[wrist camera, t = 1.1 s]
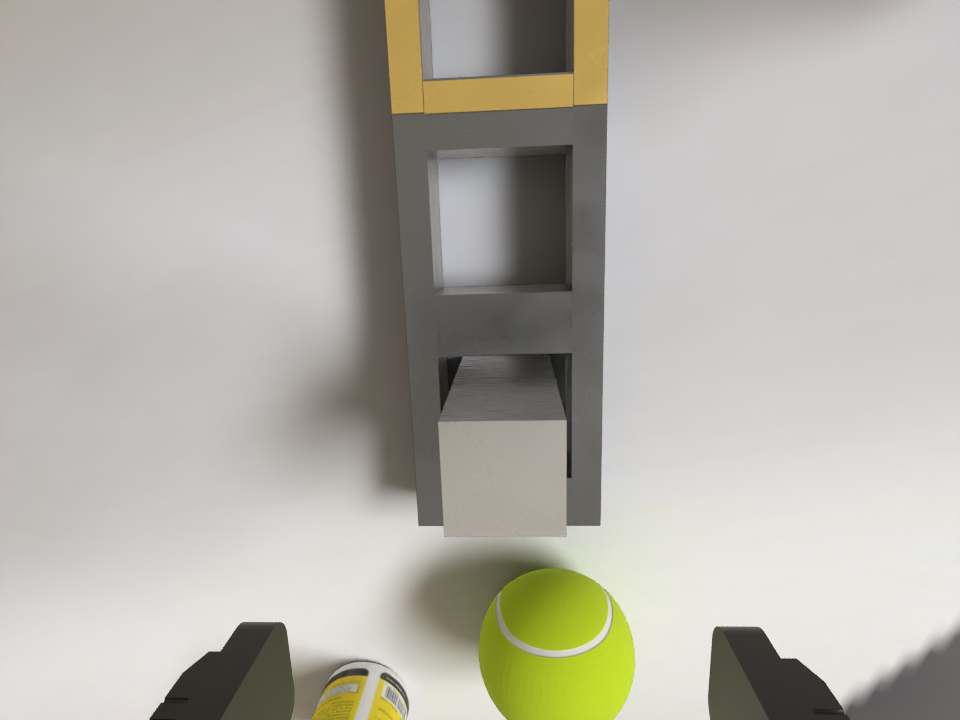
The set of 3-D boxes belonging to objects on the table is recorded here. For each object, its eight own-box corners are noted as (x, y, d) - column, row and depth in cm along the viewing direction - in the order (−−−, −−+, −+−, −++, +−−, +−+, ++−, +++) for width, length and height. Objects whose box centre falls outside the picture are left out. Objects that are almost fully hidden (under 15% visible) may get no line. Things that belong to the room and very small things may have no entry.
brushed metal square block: (549, 354, 26) (566, 420, 18) (549, 436, 27) (566, 536, 19) (462, 356, 27) (437, 421, 18) (466, 436, 28) (444, 536, 19)
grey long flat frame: (598, -132, 22) (612, -189, 19) (591, 493, 28) (600, 527, 25) (391, -117, 22) (372, -169, 19) (428, 494, 28) (418, 527, 25)
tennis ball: (478, 541, 29) (467, 640, 22) (618, 537, 28) (650, 636, 22) (487, 659, 31) (480, 784, 24) (620, 656, 30) (651, 784, 23)
